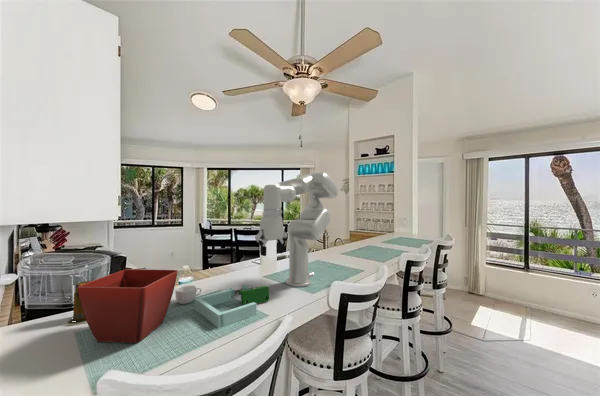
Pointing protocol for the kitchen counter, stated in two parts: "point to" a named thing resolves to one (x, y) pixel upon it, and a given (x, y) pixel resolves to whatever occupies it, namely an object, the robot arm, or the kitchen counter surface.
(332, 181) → the robot arm
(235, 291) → the cable
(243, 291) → the clamp
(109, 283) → the plant pot
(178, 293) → the teacup
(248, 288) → the clip
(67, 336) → the kitchen counter surface
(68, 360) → the kitchen counter surface
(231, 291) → the clip
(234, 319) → the end holder
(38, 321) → the kitchen counter surface
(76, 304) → the condiment
